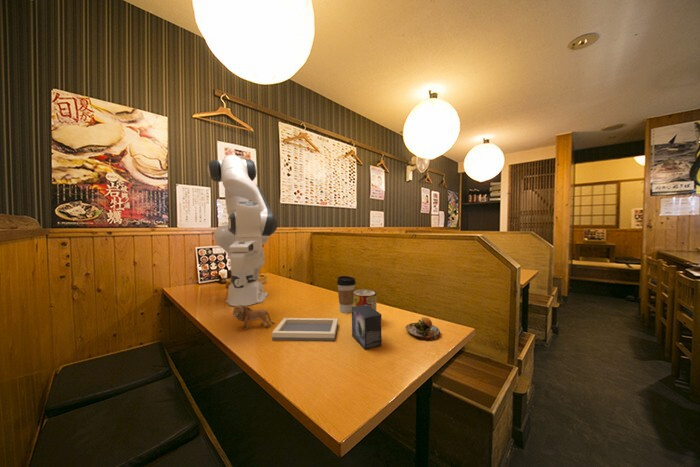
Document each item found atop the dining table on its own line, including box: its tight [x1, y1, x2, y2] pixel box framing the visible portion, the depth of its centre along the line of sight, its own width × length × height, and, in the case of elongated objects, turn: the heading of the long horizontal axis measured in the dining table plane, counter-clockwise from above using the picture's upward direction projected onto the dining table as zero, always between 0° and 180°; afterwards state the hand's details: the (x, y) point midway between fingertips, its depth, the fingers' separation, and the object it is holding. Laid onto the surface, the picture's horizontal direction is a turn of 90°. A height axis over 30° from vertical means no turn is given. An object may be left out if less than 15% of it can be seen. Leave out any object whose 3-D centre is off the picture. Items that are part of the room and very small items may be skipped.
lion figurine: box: [232, 305, 276, 330], centre depth 93 cm, size 15×5×9 cm, turn 107°
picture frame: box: [271, 317, 339, 342], centre depth 88 cm, size 13×21×2 cm, turn 88°
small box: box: [351, 304, 383, 351], centre depth 81 cm, size 11×6×10 cm, turn 23°
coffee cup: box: [336, 275, 357, 314], centre depth 109 cm, size 8×8×15 cm
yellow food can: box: [353, 289, 377, 311], centre depth 96 cm, size 9×9×12 cm
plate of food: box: [405, 316, 441, 342], centre depth 87 cm, size 12×12×8 cm
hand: (250, 282), depth 91 cm, fingers open, 8 cm apart
